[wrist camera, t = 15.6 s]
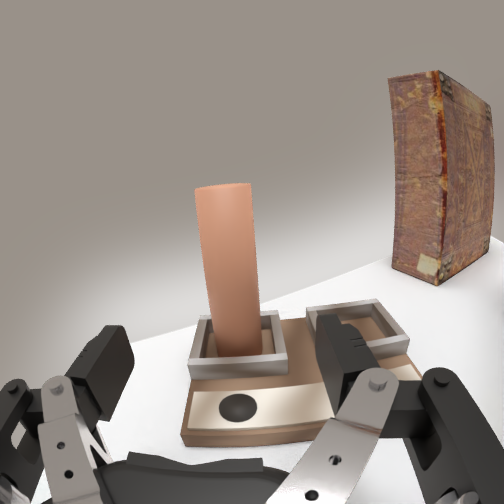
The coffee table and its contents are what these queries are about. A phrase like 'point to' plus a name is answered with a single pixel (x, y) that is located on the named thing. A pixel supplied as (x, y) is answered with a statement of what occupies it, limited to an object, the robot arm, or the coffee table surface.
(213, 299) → the terracotta pin
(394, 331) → the walnut socket board
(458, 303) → the coffee table surface
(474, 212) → the book
